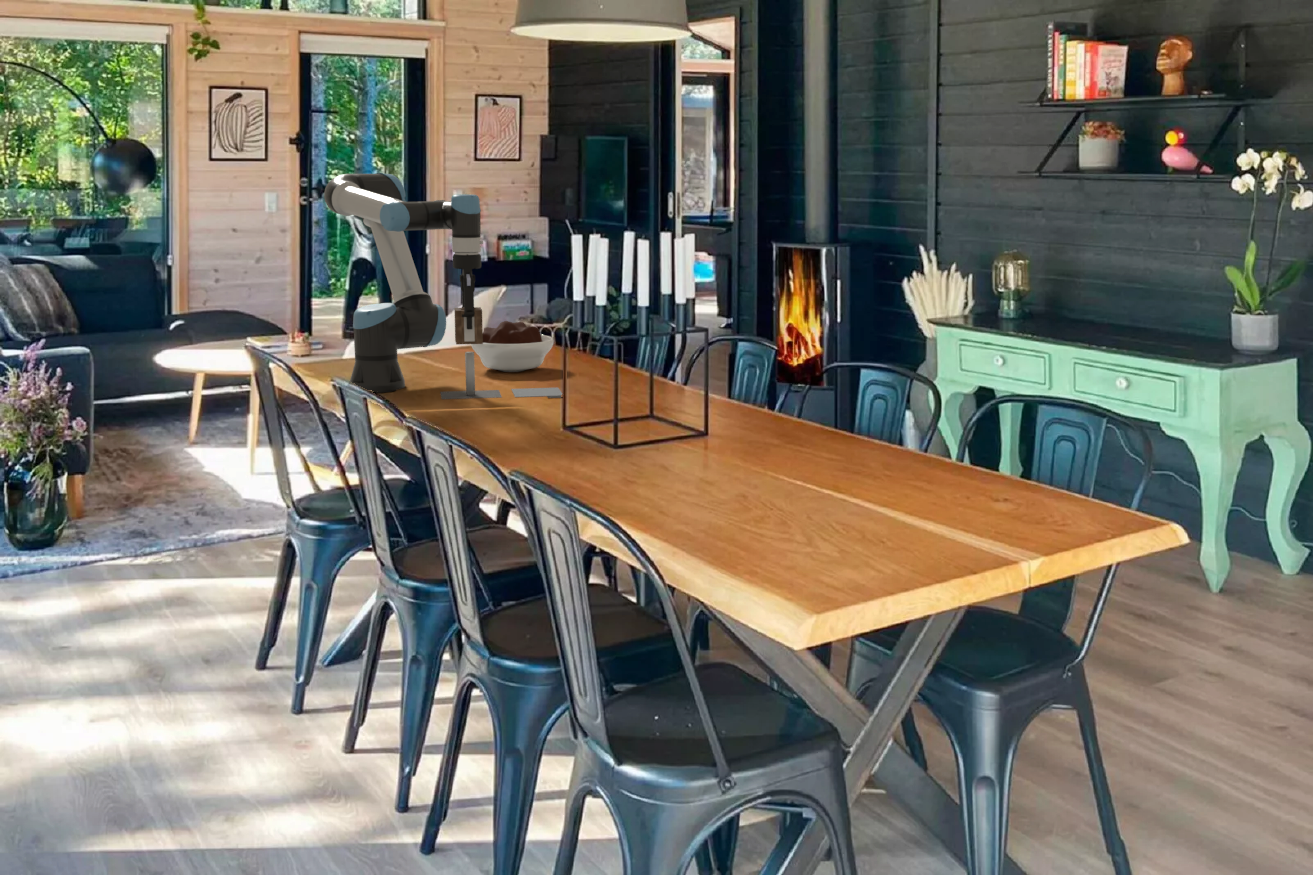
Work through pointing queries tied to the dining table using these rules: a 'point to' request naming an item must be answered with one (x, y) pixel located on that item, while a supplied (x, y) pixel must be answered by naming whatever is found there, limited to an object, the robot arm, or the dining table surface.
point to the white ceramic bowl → (513, 347)
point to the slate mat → (537, 392)
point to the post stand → (470, 384)
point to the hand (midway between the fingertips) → (468, 339)
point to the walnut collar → (460, 326)
